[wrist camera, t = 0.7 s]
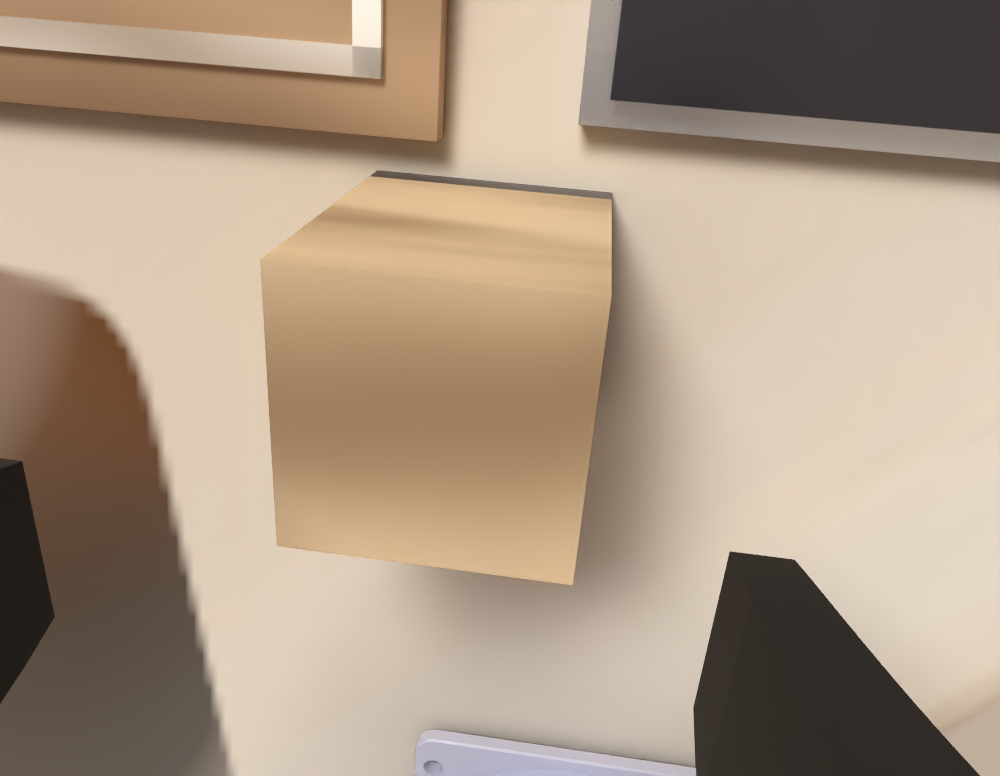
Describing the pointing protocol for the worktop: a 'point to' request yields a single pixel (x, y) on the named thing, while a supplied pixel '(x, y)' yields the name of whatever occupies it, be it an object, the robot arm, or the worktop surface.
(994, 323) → the worktop surface
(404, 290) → the stamp
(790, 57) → the pad
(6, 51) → the board
